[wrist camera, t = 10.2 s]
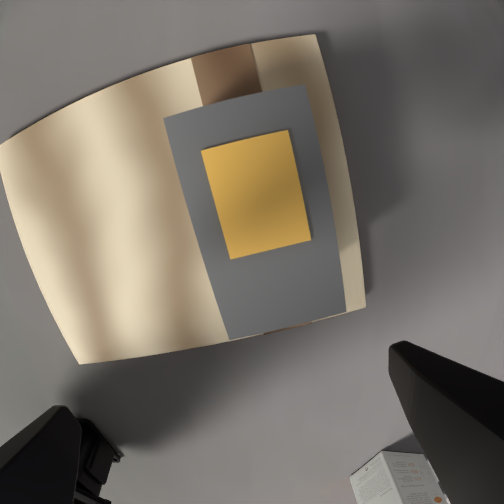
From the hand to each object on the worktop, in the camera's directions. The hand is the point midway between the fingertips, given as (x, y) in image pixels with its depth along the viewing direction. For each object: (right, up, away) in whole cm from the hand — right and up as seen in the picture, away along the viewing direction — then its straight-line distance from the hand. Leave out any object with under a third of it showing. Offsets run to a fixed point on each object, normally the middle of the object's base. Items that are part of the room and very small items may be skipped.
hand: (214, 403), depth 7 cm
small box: (+16, -21, +20) cm, 33 cm away
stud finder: (+1, +6, +9) cm, 11 cm away
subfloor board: (-4, +6, +10) cm, 12 cm away
